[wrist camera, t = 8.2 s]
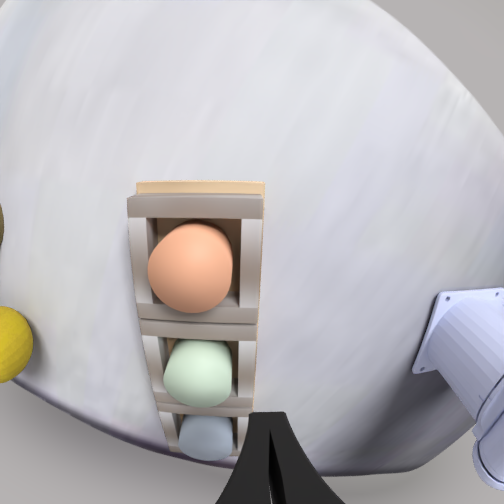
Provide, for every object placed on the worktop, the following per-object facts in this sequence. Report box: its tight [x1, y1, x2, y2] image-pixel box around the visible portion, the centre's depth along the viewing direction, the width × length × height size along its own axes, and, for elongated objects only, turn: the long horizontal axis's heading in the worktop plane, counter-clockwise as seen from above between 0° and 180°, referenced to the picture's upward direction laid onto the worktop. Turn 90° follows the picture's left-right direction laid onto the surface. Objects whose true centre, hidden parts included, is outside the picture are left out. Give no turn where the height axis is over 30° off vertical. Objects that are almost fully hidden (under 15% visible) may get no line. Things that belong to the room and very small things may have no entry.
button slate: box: [178, 414, 233, 461], centre depth 19 cm, size 4×4×3 cm
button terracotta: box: [148, 220, 233, 313], centre depth 15 cm, size 4×4×3 cm
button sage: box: [163, 338, 232, 408], centre depth 17 cm, size 4×4×3 cm
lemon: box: [0, 306, 33, 383], centre depth 15 cm, size 6×6×8 cm
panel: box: [127, 180, 265, 456], centre depth 18 cm, size 22×7×3 cm, turn 178°
